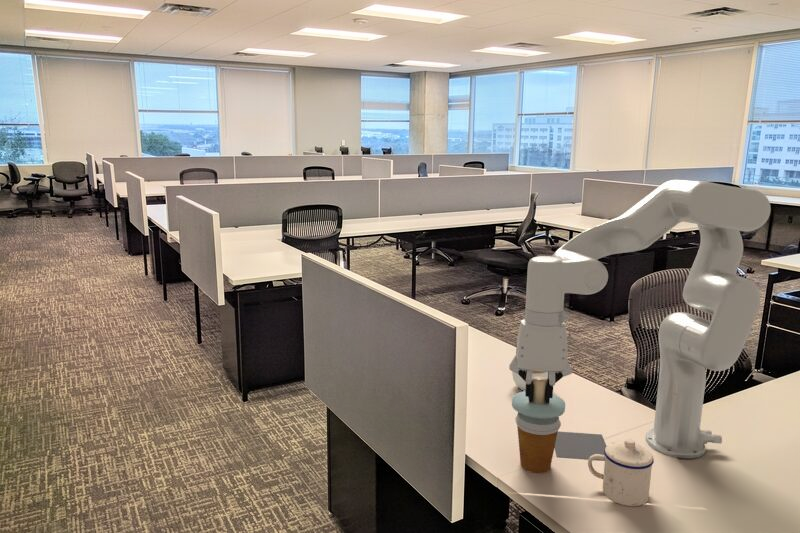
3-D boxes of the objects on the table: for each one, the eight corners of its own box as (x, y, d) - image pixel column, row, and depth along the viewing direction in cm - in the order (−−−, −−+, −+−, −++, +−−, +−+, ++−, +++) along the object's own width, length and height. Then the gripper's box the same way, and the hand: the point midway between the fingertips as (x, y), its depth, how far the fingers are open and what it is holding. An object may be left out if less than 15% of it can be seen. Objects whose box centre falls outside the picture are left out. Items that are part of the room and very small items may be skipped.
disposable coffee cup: (559, 481, 119) (562, 428, 117) (512, 476, 121) (515, 423, 119) (556, 457, 129) (559, 407, 126) (513, 452, 130) (515, 403, 128)
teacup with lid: (650, 487, 117) (655, 435, 115) (649, 512, 109) (654, 457, 107) (588, 473, 122) (592, 423, 120) (583, 497, 114) (587, 443, 112)
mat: (601, 436, 138) (601, 434, 138) (612, 462, 126) (612, 461, 126) (550, 432, 140) (550, 430, 140) (556, 458, 128) (556, 456, 128)
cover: (560, 397, 127) (562, 370, 125) (568, 420, 116) (570, 391, 115) (510, 394, 128) (511, 368, 127) (513, 416, 117) (514, 388, 116)
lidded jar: (503, 383, 169) (505, 352, 167) (536, 378, 172) (537, 349, 170) (522, 398, 159) (523, 366, 157) (556, 393, 162) (558, 361, 160)
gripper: (581, 313, 120) (575, 395, 124) (502, 309, 123) (499, 390, 126) (587, 324, 113) (581, 410, 117) (504, 320, 115) (500, 405, 119)
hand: (538, 399), depth 122 cm, fingers closed on cover, 2 cm apart
